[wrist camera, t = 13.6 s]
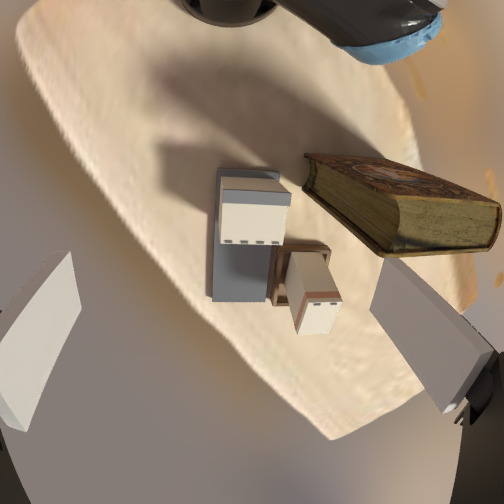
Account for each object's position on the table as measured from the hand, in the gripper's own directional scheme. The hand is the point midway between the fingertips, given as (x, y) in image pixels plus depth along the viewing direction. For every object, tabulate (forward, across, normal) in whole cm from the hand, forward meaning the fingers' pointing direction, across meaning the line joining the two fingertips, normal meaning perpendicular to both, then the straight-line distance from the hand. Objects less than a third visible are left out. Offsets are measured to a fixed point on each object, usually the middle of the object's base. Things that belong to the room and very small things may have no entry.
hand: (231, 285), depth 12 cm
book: (+35, +21, 0) cm, 41 cm away
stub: (+33, +15, -16) cm, 40 cm away
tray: (+35, +15, -18) cm, 42 cm away
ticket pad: (+34, +5, -6) cm, 34 cm away
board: (+35, +5, -12) cm, 37 cm away
